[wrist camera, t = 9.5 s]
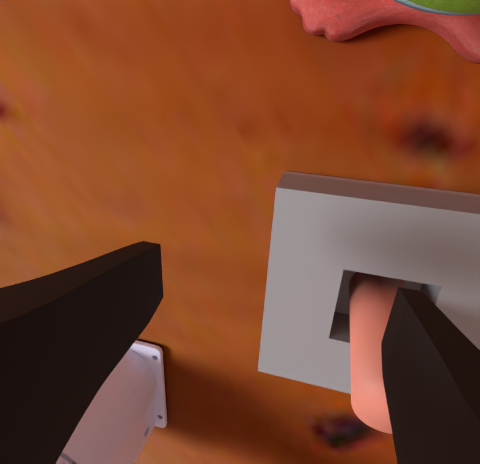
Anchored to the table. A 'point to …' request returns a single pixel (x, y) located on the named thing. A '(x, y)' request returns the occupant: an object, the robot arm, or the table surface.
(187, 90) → the table surface
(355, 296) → the peg
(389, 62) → the table surface
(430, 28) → the stacking bear
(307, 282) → the socket block
